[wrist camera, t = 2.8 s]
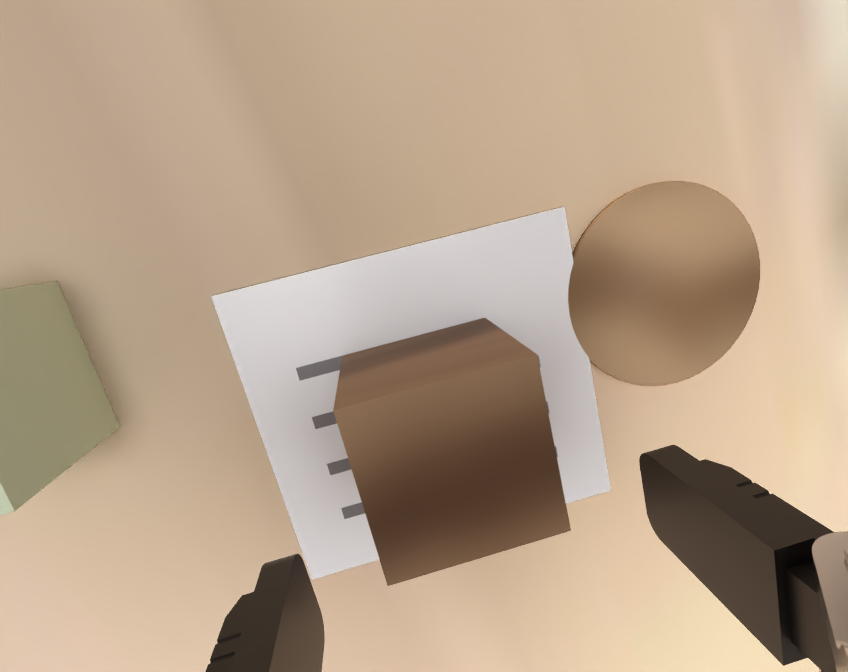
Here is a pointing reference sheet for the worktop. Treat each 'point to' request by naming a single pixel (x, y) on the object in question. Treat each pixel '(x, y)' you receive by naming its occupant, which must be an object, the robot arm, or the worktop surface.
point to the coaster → (663, 283)
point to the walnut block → (450, 447)
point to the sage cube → (44, 393)
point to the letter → (392, 321)
